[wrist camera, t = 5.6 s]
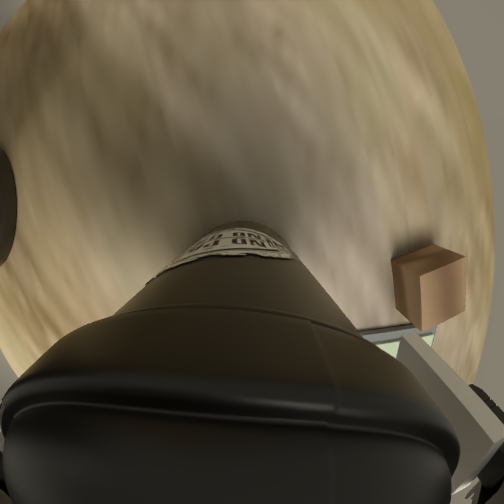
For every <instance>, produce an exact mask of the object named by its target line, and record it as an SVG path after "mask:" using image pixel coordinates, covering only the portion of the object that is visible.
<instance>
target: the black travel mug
mask: <svg viewBox="0 0 504 504" xmlns="http://www.w3.org/2000/svg"><path fill="white" fill-rule="evenodd" d="M169 265H170V266H169ZM169 265H168V266H166V267H165V268H164V269H163V270H162V271H161V272H159V273H158V274H157V275H156V278H154V277H153V278H152V279H151V280H152V281H151V280H150V281H149V282H148V283H146V284H147V285H146V286H145V287H144V288H143V289H142V290H141V291H140V292H138V293H137V294H136V295H135V296H134V297H133V298H132V299H130V300H129V301H128V302H127V303H126V304H125V305H124V306H123V307H122V308H120V309H119V310H118V311H117V312H116V313H115V314H114V315H113V316H110V317H108V318H104V319H101V320H98V321H95V322H92V323H89V324H87V325H84V326H82V327H80V328H78V329H76V330H74V331H72V332H71V333H69V334H67V335H66V336H64V337H63V338H61V339H60V340H59V341H58V342H56V343H55V344H54V345H53V346H52V347H51V348H50V349H49V350H48V351H47V352H45V353H44V354H43V355H42V356H41V357H40V358H39V359H38V360H37V361H36V362H35V363H34V364H33V365H32V366H31V367H30V368H29V369H28V370H27V371H25V372H24V373H23V374H22V375H21V376H20V377H19V378H18V379H17V380H16V381H15V382H14V383H13V384H12V386H11V387H10V388H9V389H8V391H7V392H6V394H5V395H4V397H3V398H2V405H1V409H0V426H1V430H2V434H3V437H4V447H3V457H2V462H3V473H4V479H5V483H6V486H7V490H8V493H9V495H10V498H11V500H12V503H13V504H450V501H451V493H452V482H451V478H452V476H453V474H454V472H455V470H456V468H457V465H458V462H459V458H460V443H459V440H458V437H457V435H456V432H455V430H454V428H453V426H452V425H451V423H450V422H449V420H448V419H447V418H446V416H445V415H444V414H443V412H442V411H441V410H440V408H439V407H438V406H437V404H436V403H435V402H434V400H433V399H432V398H431V396H430V395H429V394H428V393H427V391H426V390H425V389H424V387H423V386H422V385H421V383H420V382H419V381H418V380H417V378H416V377H415V376H414V375H413V374H412V372H411V371H410V370H409V369H408V368H407V367H406V366H404V365H403V364H402V363H401V362H400V361H398V360H397V359H396V358H394V357H393V356H392V355H390V354H388V353H387V352H385V351H384V350H382V349H380V348H379V347H378V346H376V345H375V344H373V343H371V342H370V341H368V340H366V339H364V338H363V337H362V335H361V334H360V333H359V332H358V330H357V329H356V328H355V327H354V325H353V324H352V323H351V322H350V320H349V319H348V318H347V317H346V315H345V314H344V313H343V312H342V310H341V309H340V308H339V307H338V305H337V304H336V303H335V302H334V300H333V299H332V298H331V297H330V296H329V294H328V293H327V292H326V291H325V289H324V288H323V287H322V286H321V285H320V283H319V282H318V281H317V280H316V279H315V277H314V276H313V275H312V274H311V273H310V271H309V270H308V269H307V268H306V267H305V265H304V264H303V263H302V262H301V261H300V259H299V258H298V257H297V256H296V255H295V253H294V252H293V251H292V250H291V249H290V248H289V246H288V245H287V244H286V243H285V242H284V240H283V239H282V238H281V237H280V236H279V235H278V234H277V233H275V232H274V231H273V230H271V229H269V228H268V227H266V226H263V225H261V224H258V223H254V222H248V221H236V222H230V223H226V224H223V225H221V226H219V227H217V228H215V229H213V230H212V231H210V232H209V233H208V234H207V235H205V236H204V237H203V238H202V239H200V240H199V241H197V243H195V244H193V245H192V246H191V247H190V249H189V248H188V249H187V250H186V251H185V252H183V253H182V254H181V255H180V256H179V257H177V258H176V259H175V260H174V261H173V262H171V263H170V264H169Z"/></svg>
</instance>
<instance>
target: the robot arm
mask: <svg viewBox="0 0 504 504" xmlns="http://www.w3.org/2000/svg"><path fill="white" fill-rule="evenodd" d="M15 225H16V192H15V184H14V179H13V174H12V170H11V167H10V164H9V162H8V159H7V157H6V156H5V154H4V153H3V151H2V150H1V149H0V266H1V265H2V264H3V263H4V262H5V260H6V259H7V257H8V255H9V252H10V249H11V246H12V243H13V238H14V233H15ZM396 359H397V360H398V361H400V362H401V363H402V364H403V365H404V366H406V367H407V368H408V369H409V370H410V371H411V372H412V374H413V375H414V376H415V377H416V378H417V380H418V381H419V382H420V383H421V385H422V386H423V387H424V389H425V390H426V391H427V393H428V394H429V395H430V396H431V398H432V399H433V400H434V402H435V403H436V404H437V406H438V407H439V408H440V410H441V411H442V412H443V414H444V415H445V416H446V418H447V419H448V420H449V422H450V423H451V425H452V426H453V428H454V430H455V432H456V435H457V437H458V440H459V443H460V458H459V462H458V465H457V468H456V470H455V472H454V474H453V476H452V478H451V482H452V493H451V495H452V494H454V493H456V492H458V491H460V490H462V489H464V488H465V487H467V486H469V484H470V483H471V482H472V481H473V480H474V479H475V478H476V477H478V478H479V480H480V481H479V482H478V483H477V484H476V485H475V486H474V487H473V488H472V489H471V490H470V491H469V493H468V494H467V495H466V497H465V499H467V498H469V497H470V496H471V495H472V494H473V493H474V495H473V497H472V498H471V499H473V500H472V504H504V412H503V411H502V410H501V409H500V408H499V407H498V406H496V404H495V403H494V401H493V400H490V397H489V396H488V395H487V394H486V393H485V392H484V391H483V390H482V389H480V388H478V387H477V386H475V385H473V384H471V385H467V383H466V382H465V381H464V380H463V379H462V378H461V377H460V376H459V375H458V374H457V373H456V372H455V371H454V370H453V369H452V368H451V367H450V366H449V365H448V364H447V363H446V362H445V361H444V360H443V359H442V358H441V357H440V356H439V355H438V354H437V353H436V352H435V351H434V350H433V349H432V348H431V347H430V346H429V345H428V344H427V343H426V342H425V341H424V340H423V339H422V338H421V337H420V336H419V335H418V334H417V333H410V334H404V335H401V338H400V343H399V347H398V351H397V356H396ZM1 405H2V403H1V404H0V409H1ZM3 447H4V437H3V434H2V430H1V426H0V504H13V503H12V500H11V498H10V495H9V493H8V490H7V486H6V483H5V479H4V473H3V462H2V457H3Z"/></svg>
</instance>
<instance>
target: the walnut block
mask: <svg viewBox="0 0 504 504" xmlns="http://www.w3.org/2000/svg"><path fill="white" fill-rule="evenodd" d="M391 265H392V272H393V281H394V290H395V300H396V309H397V310H398V311H399V312H400V313H401V314H402V315H404V316H405V317H406V318H407V319H408V320H409V321H410V322H411V323H412V324H413V325H414V326H416V327H417V328H418V329H419V330H420V331H421V332H424V331H426V330H428V329H430V328H432V327H434V326H436V325H438V324H440V323H442V322H444V321H446V320H448V319H450V318H452V317H454V316H456V315H458V314H459V313H461V312H463V311H465V302H466V257H465V256H463V255H460V254H458V253H455V252H452V251H450V250H447V249H445V248H442V247H439V246H437V245H434V244H433V245H430V246H427V247H425V248H422V249H419V250H416V251H414V252H411V253H408V254H405V255H403V256H400V257H397V258H394V259H391Z"/></svg>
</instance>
